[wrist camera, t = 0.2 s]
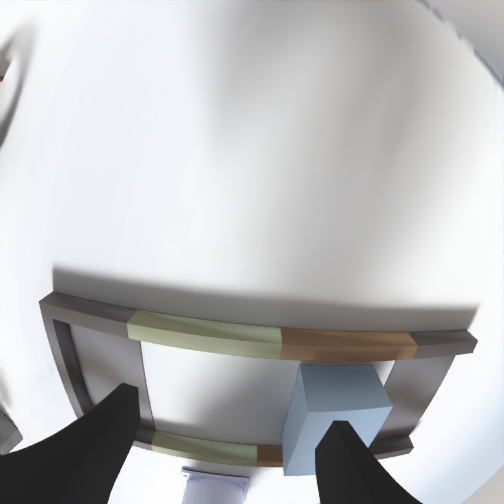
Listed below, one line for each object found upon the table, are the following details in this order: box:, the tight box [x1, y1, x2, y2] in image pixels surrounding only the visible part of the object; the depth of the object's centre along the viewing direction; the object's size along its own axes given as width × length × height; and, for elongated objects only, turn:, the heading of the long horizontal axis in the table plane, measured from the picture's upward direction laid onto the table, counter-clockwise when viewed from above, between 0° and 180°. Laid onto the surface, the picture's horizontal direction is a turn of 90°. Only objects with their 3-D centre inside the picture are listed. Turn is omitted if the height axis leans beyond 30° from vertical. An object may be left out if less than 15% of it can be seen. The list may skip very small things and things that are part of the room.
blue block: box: [282, 365, 393, 476], centre depth 19 cm, size 9×6×5 cm, turn 175°
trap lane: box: [39, 292, 478, 467], centre depth 20 cm, size 15×35×2 cm, turn 84°
